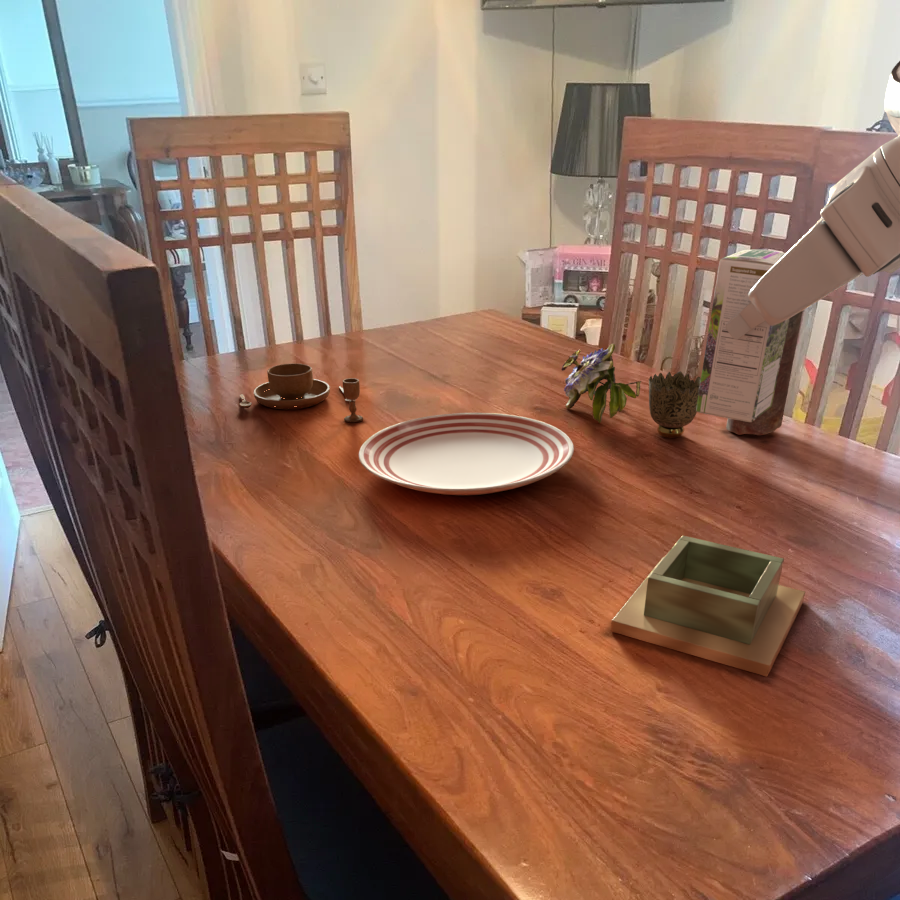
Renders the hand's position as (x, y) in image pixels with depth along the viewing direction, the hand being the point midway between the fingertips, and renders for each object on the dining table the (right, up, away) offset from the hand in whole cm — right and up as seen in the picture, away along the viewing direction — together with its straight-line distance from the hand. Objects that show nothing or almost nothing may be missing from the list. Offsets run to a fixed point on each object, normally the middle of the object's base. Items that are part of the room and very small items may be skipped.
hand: (742, 323), depth 81 cm
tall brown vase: (+16, -2, +42) cm, 45 cm away
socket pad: (-3, -27, 0) cm, 28 cm away
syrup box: (+1, -7, +4) cm, 9 cm away
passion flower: (-5, +3, +50) cm, 50 cm away
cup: (+4, -3, +41) cm, 41 cm away
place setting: (-51, +4, +53) cm, 74 cm away
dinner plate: (-25, -9, +31) cm, 41 cm away
